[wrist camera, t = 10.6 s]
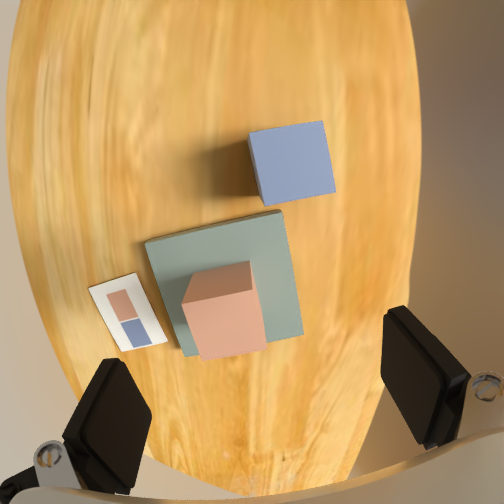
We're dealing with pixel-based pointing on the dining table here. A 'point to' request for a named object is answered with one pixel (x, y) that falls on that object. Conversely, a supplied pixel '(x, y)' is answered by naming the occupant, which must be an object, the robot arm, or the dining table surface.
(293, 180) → the brick
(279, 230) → the baseplate
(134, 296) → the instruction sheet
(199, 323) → the brick
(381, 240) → the dining table surface
